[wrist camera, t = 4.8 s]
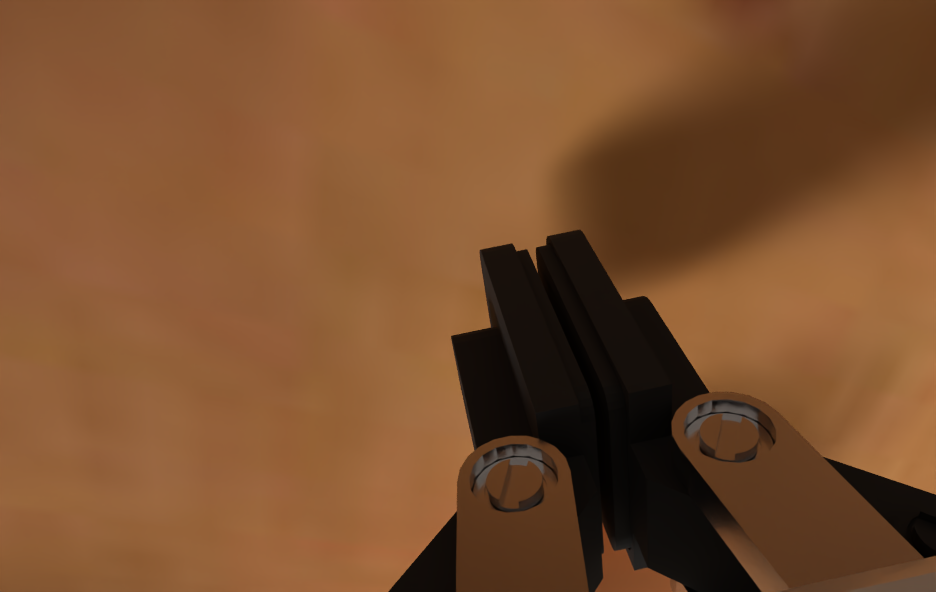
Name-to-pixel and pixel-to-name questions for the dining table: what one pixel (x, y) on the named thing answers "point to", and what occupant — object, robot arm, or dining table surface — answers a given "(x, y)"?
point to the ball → (627, 573)
